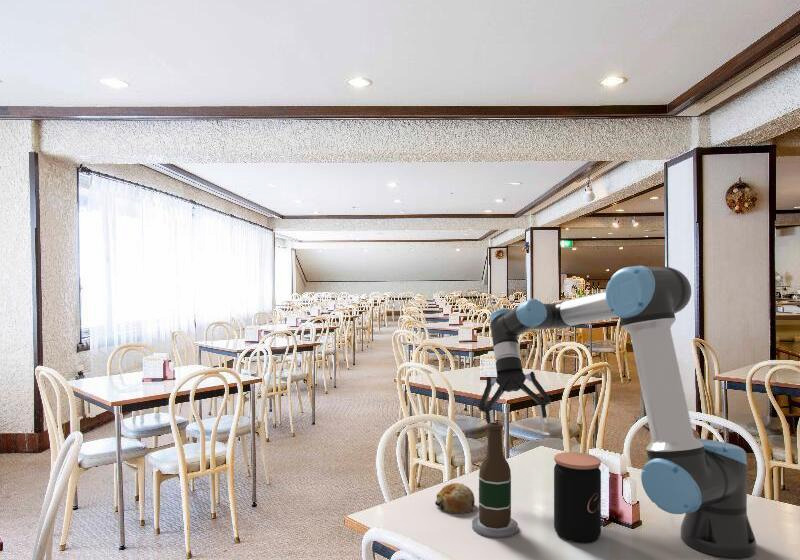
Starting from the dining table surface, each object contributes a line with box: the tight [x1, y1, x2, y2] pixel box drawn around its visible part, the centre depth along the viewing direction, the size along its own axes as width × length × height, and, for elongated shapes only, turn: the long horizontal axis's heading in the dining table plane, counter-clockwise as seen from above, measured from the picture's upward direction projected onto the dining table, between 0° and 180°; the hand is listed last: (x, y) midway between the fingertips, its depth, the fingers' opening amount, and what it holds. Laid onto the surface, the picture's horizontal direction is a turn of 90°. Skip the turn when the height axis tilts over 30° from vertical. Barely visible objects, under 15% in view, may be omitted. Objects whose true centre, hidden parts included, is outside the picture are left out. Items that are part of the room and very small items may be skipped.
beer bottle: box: [478, 421, 512, 529], centre depth 140 cm, size 8×8×24 cm
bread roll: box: [434, 482, 476, 514], centre depth 153 cm, size 10×10×8 cm
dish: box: [471, 515, 519, 539], centre depth 140 cm, size 11×11×1 cm
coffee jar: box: [553, 451, 602, 544], centre depth 136 cm, size 11×11×18 cm
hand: (518, 432), depth 159 cm, fingers open, 13 cm apart
